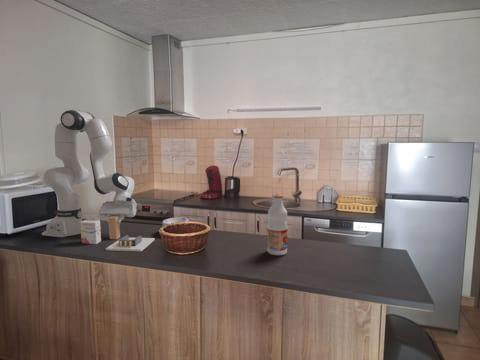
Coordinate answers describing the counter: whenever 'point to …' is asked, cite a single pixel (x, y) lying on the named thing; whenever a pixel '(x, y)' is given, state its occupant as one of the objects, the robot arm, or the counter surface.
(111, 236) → the tall tan rectangular block
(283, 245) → the fruit juice
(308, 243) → the counter surface
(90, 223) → the ink cartridge box
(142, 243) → the cartridge dock
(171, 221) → the paper bowls
